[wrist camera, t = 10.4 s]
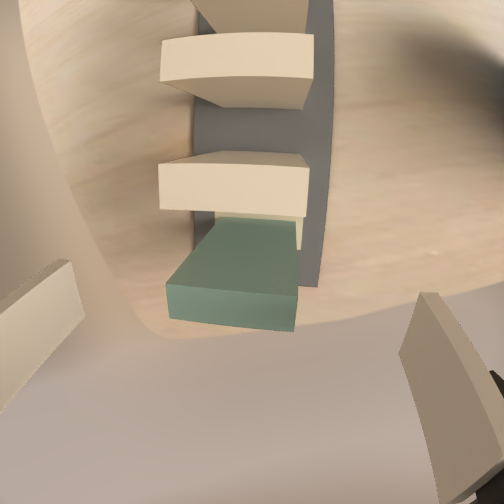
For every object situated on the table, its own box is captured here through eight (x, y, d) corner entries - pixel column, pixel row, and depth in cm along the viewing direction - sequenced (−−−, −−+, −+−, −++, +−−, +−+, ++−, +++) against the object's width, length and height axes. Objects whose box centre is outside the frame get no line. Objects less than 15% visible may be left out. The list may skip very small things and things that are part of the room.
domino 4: (293, 243, 20) (293, 331, 11) (221, 238, 21) (169, 318, 12) (295, 221, 20) (298, 296, 11) (221, 216, 20) (165, 283, 11)
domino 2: (224, 84, 17) (162, 40, 8) (302, 86, 17) (313, 34, 7) (223, 107, 18) (159, 81, 8) (301, 109, 17) (313, 78, 8)
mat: (207, -47, 13) (206, -49, 13) (329, -48, 12) (329, -50, 12) (197, 275, 23) (196, 277, 22) (317, 285, 22) (317, 287, 21)
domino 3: (222, 150, 19) (158, 163, 9) (300, 153, 18) (309, 168, 9) (222, 174, 19) (160, 209, 10) (298, 178, 19) (305, 217, 10)
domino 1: (227, 25, 15) (175, -50, 6) (303, 26, 15) (310, -59, 6) (226, 45, 16) (170, -23, 7) (303, 46, 15) (312, -31, 6)
